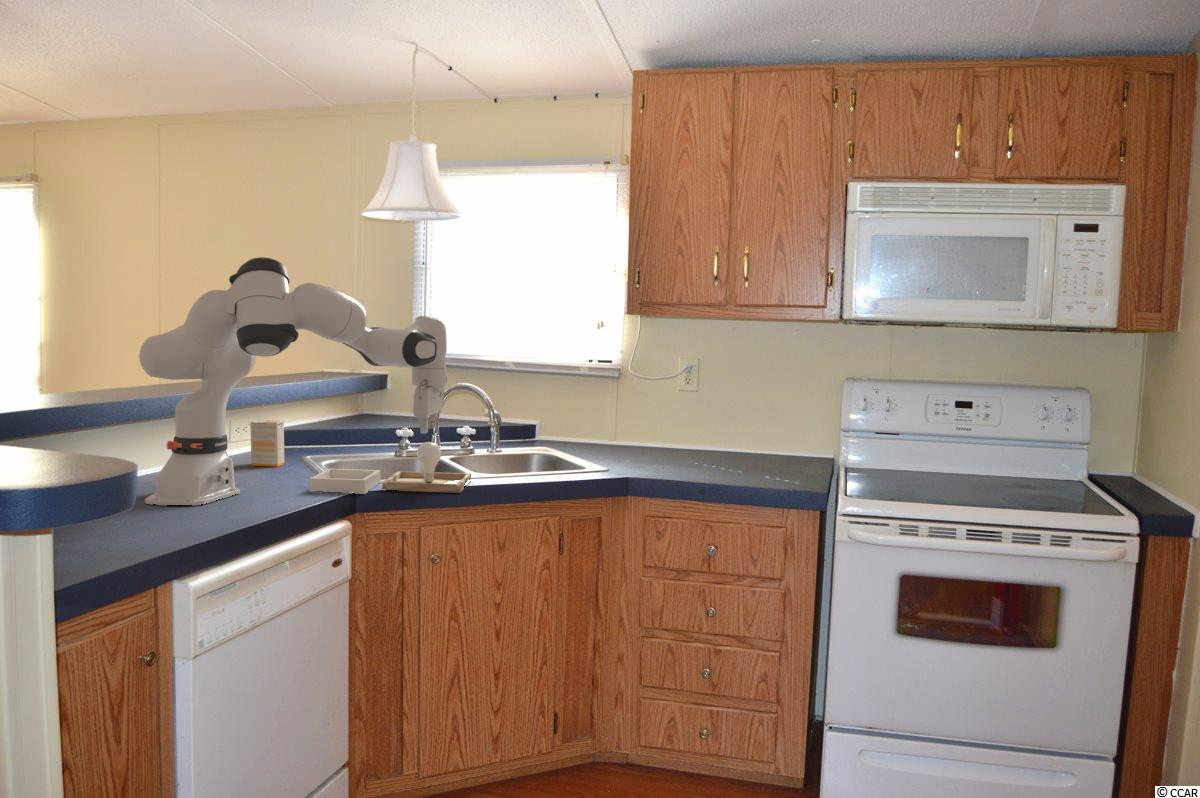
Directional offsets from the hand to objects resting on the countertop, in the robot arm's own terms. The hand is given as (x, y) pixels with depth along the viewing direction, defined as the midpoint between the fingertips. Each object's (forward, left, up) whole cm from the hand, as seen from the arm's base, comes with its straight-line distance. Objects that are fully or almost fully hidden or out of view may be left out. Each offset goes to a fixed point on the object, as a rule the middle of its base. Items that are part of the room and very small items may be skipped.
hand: (428, 430), depth 229 cm
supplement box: (+21, +52, -15) cm, 58 cm away
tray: (-1, 0, -15) cm, 15 cm away
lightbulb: (0, 0, -14) cm, 14 cm away
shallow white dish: (-7, +20, -15) cm, 25 cm away
